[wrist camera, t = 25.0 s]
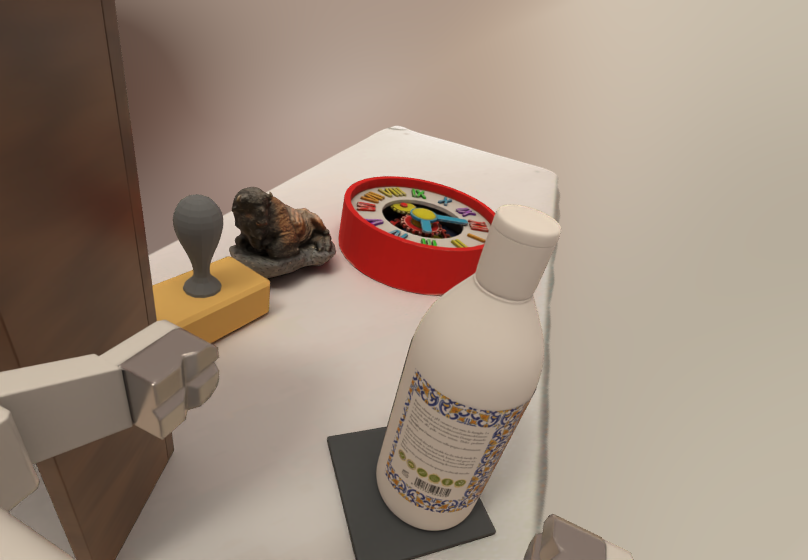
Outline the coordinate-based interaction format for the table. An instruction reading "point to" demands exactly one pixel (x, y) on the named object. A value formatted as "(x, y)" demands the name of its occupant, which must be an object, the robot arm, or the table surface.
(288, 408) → the table surface
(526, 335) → the bath foam
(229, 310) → the rubber stamp
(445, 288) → the toy clock
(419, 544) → the pad
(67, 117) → the cabinet
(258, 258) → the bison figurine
